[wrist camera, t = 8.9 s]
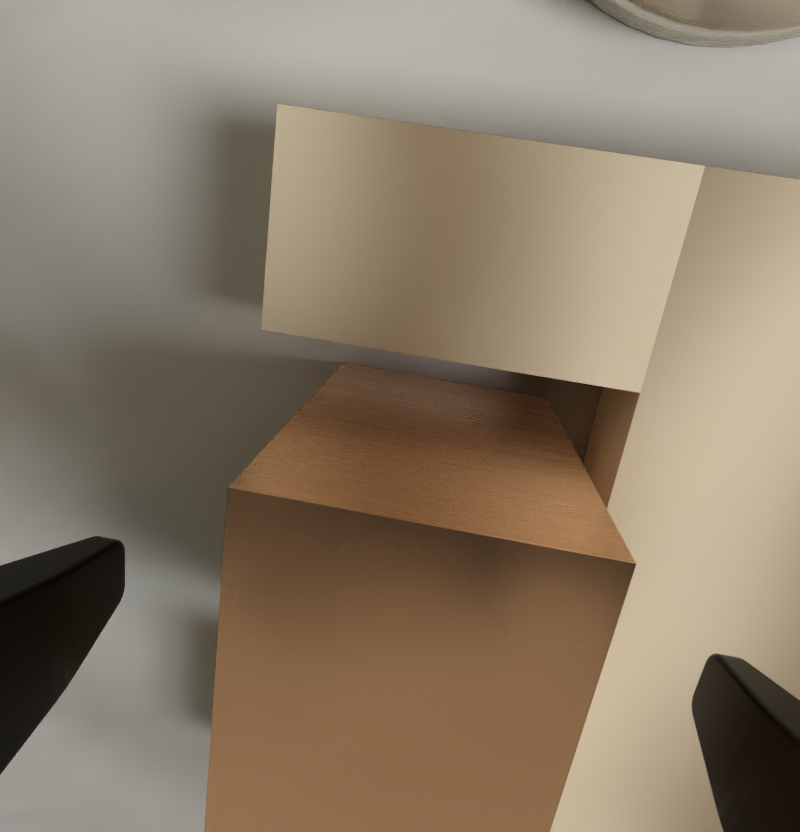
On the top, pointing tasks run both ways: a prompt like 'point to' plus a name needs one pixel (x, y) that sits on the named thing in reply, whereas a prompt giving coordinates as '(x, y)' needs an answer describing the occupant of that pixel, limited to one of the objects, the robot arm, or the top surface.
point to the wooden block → (409, 614)
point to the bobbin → (709, 20)
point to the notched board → (596, 365)
